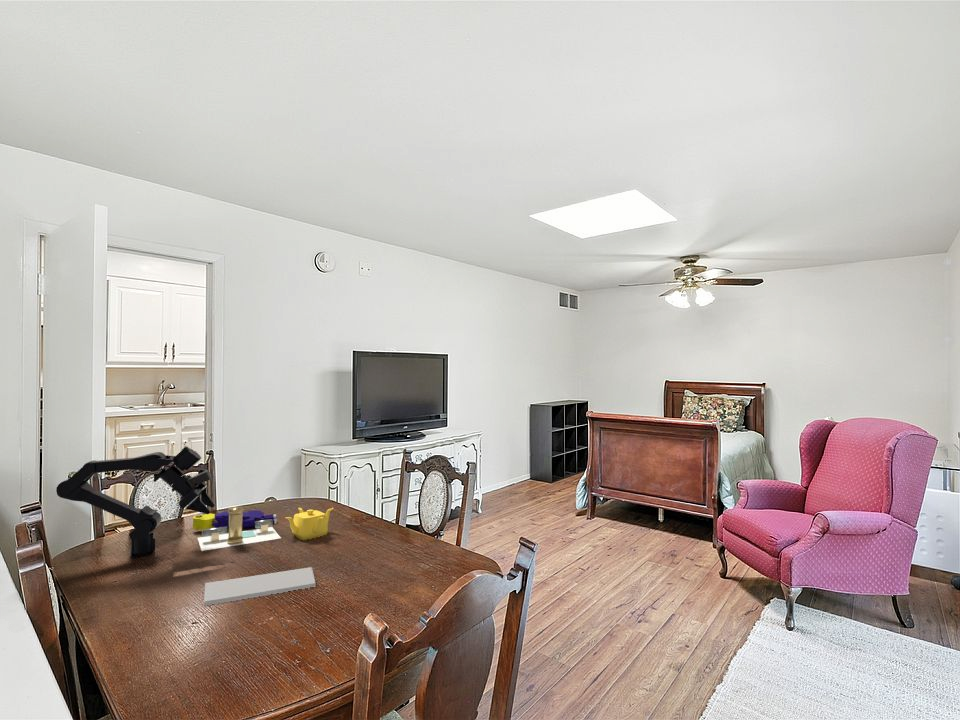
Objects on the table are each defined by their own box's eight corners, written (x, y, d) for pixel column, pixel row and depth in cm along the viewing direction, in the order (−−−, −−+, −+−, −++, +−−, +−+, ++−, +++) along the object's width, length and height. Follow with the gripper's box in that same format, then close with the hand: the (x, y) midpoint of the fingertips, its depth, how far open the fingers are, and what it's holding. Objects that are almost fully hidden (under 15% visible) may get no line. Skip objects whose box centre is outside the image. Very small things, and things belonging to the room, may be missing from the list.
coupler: (228, 545, 181) (229, 511, 181) (226, 541, 185) (227, 507, 185) (243, 542, 183) (244, 509, 184) (241, 538, 187) (242, 506, 188)
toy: (273, 525, 214) (192, 528, 200) (275, 508, 214) (194, 510, 201) (276, 532, 203) (190, 536, 190) (278, 514, 204) (193, 517, 190)
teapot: (333, 529, 204) (333, 505, 204) (323, 541, 190) (324, 515, 190) (296, 529, 204) (297, 505, 204) (284, 541, 189) (284, 515, 190)
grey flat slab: (203, 608, 137) (204, 594, 137) (204, 590, 147) (205, 578, 148) (316, 588, 150) (316, 576, 150) (309, 574, 161) (309, 562, 161)
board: (201, 554, 175) (201, 550, 175) (197, 541, 188) (197, 537, 188) (281, 541, 189) (281, 537, 189) (271, 529, 202) (272, 526, 202)
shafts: (202, 543, 182) (202, 531, 182) (201, 539, 186) (201, 527, 186) (273, 532, 195) (273, 521, 195) (270, 528, 200) (270, 517, 200)
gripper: (191, 468, 171) (226, 499, 175) (201, 458, 189) (233, 487, 192) (163, 493, 169) (199, 524, 172) (176, 481, 186) (209, 509, 190)
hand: (211, 509), depth 182 cm, fingers open, 9 cm apart
